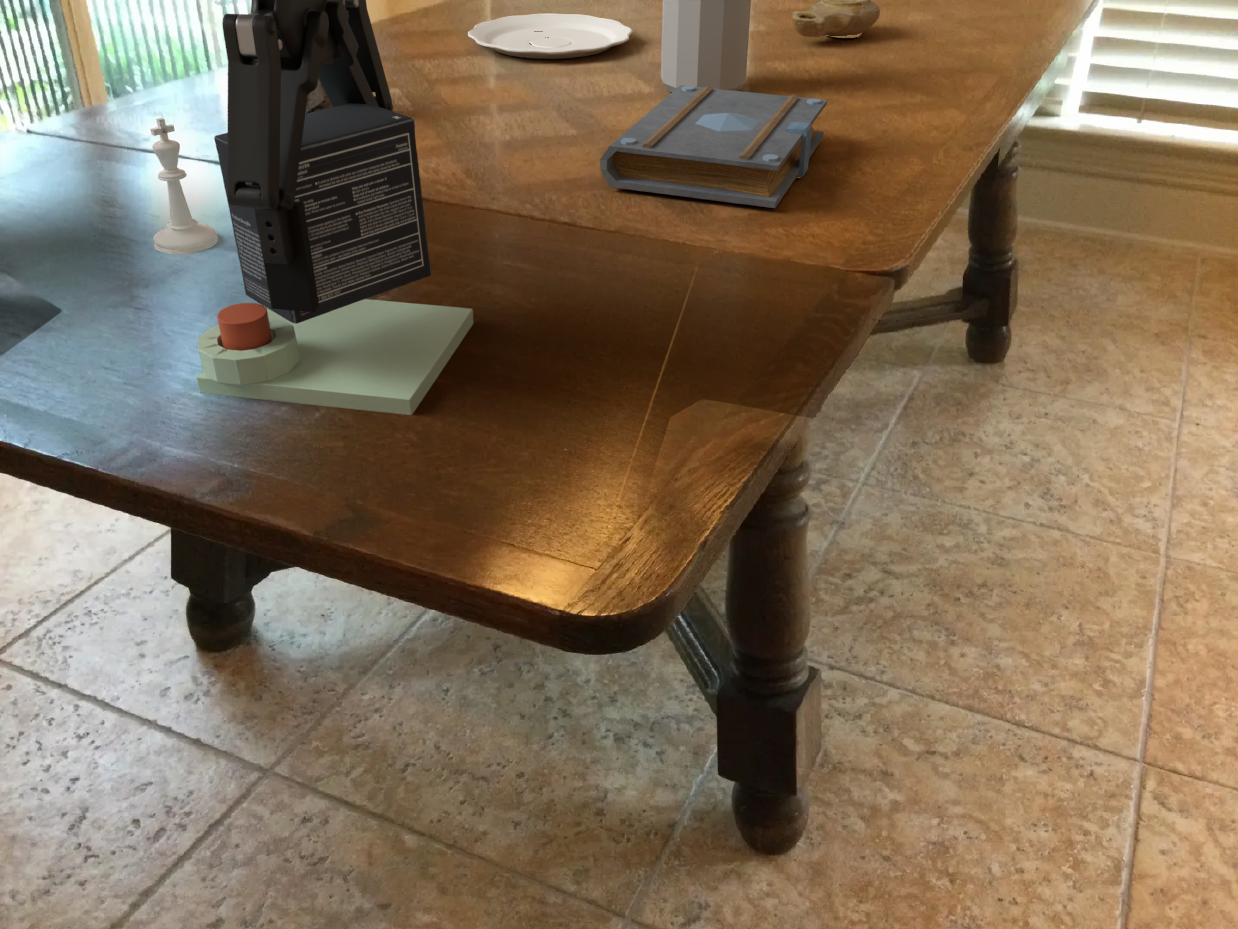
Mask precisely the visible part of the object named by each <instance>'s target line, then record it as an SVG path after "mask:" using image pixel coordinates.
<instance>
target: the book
mask: <svg viewBox="0 0 1238 929" xmlns="http://www.w3.org/2000/svg"><path fill="white" fill-rule="evenodd" d="M827 104H828V100H827V99H822V98H821V99H820V98H816V97H815V98H813V97H812V98H810V97H802V96H801V97H800V96H798V95H796V94H793V95H780V94H769V93H759V92H751V91H740V90H739V91H731V90H721V89H713V88H712V87H710V86H708V87H704V88H701V87H693V86H681V85H680V86H678V87H677V88H676V89H675V90H674V91H673V92H672V93H670V92H669V94H668V95H667V96H666V97H665V98H663V99H662V100H661V101H659V102H658V103H657V104H656V105H655V106H654V107H653V108H651V110H649V111H648V112H647V113H646V114H645V115H643V116H642V117H641V118H640V119H639V120H638V121H636V122H635V123H633V125H632V126H631V127H630V128H628V129H627V130H626V131H625V132H624V133H623V134H621V135H620V136H619V137H618V138H616V139H615V140H614V141H613V142H612V143H610V145H609V146H608V147H607V149H605V151H604V153H603V154H602V156H601V157H600V159H599V171H600V172H601V174H602V176H603V178H604V180H605V181H606V184H607V186H608V187H609V188H614V189H622V190H630V191H638V192H646V193H652V194H653V193H654V194H663V195H670V196H677V197H678V196H679V197H685V198H693V199H700V200H708V201H717V202H724V203H730V204H738V205H748V206H756V207H764V208H771V209H776V208H777V206H778V205H779V203H780V202H781V200H782V199H783V197H784V196H785V194H787V192H788V190H789V189H790V187H791V186H792V185H793V183H794V182H795V180H796V179H797V178H796V177H802V178H803V177H804V176H805V174H806V173H807V171H808V170H809V163H810V158H811V157H812V155H813V153H814V152H815V150H816V149H817V148H818V146H819V145H820V143H821V142H822V141H823V139H824V136H825V135H824V134H825V131H823V130H822V131H821V130H815V129H814V127H813V124H814V122H816V120H817V118H818V117H819V116H820V114H821V113H822V112H823V110H824V109H825V107H826V106H827ZM805 172H806V173H805Z"/></svg>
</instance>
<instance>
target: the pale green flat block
mask: <svg viewBox="0 0 1238 929" xmlns="http://www.w3.org/2000/svg"><path fill="white" fill-rule="evenodd" d="M266 309H267V313H268V318H269V324H270V330H271V335H272V341H271V342H270V343H269V344H266V345H264V346H261V347H259V348H257V349H250V350H243V351H238V350H228V349H225V348H224V347H223V343H222V338H221V333H220V328H219V324H216V325H213V326H211V327H209V328H208V329H207V330H205V331H204V332H203V333H202V334H201V335H200V336H199V337H198V338H197V350H198V354H199V360H200V364H201V368H202V372H200V374H198V375H197V376H196V381H197V385H198V390H199V393H200V394H207V395H216V396H224V397H225V396H227V397H234V398H246V399H255V400H265V401H273V402H284V403H292V404H300V405H302V404H303V405H311V406H321V407H331V408H337V409H338V408H339V409H348V410H350V409H351V410H360V411H367V412H378V413H385V414H386V413H387V414H395V415H396V414H397V415H406V416H413V414H414V413H415V412H416V411H417V408H418V407H419V406H420V404H421V402H423V400H424V398H425V396H426V395H427V393H428V392H429V391H430V389H431V388H432V386H433V385H434V383H435V382H436V380H437V379H438V377H439V376H440V374H441V373H442V372H443V370H444V368H445V367H446V365H447V364H448V362H449V361H450V359H451V358H452V356H453V355H454V353H455V352H456V350H457V349H458V347H459V346H460V344H461V343H462V341H464V338H465V337H466V335H467V334H468V332H469V331H470V330H471V328H472V326H473V325H474V310H473V308H468V307H457V306H447V305H437V304H425V303H424V304H423V303H413V302H412V303H411V302H400V301H390V300H380V299H369V298H367V299H364V300H361V301H358V302H355V303H352V304H350V305H347V306H344V307H342V308H339V309H336V310H333V311H330V312H328V313H325V314H322V315H320V316H317V317H314V318H311V319H308V320H306V321H303V322H300V323H297V324H294V323H292V322H290V321H288V320H286V319H285V318H283V317H282V316H280V315H278V314H277V313H275V312H273V311H271V310H270V309H268V308H266Z"/></svg>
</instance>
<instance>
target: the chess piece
mask: <svg viewBox="0 0 1238 929" xmlns="http://www.w3.org/2000/svg"><path fill="white" fill-rule="evenodd" d="M156 124H157V127H153V128H150V133H151V135H152V136H153V137H155V136H159V139H160V140H158V141H156V142H154V143H153V144H152V146H151V149H152V151H153V153H154V154H155V156H156V157H157V159H158V161H159V163H160V165H161V166H162V168H163V169H162V170H161V171H159V172H158V173H157V179H158V180H159V181H163V182H166V184H167V185H166V186H167V192H168V193H167V194H168V205H169V206H168V207H169V222H167V224H166V227H164V228H162V229H160V230H158V231H157V232H156V233H155V234H154V236H153V238H152V239H153V242H154V243H153V248H154V250H156V251H157V252H159V253H162V254H167V255H168V254H169V255H187V254H195V253H199V252H202V251H205V250H208V249H210V248H212V247H213V246H215V245H216V244H217V243H218V241H219V237H218V236H217V232H216V230H215V229H214V227H212V226H210V225H208V224H205V223H198V220H196V219H195V218H193V216H192V213H191V211H190V208H189V205H188V202H187V199H186V196H185V193H184V190H183V187H182V184H181V180H183V179H185V178H186V177H187V176H188V175H187V172H186V170H184V169H181V168H179V167H178V165H179V156H180V149H181V144H180V142H179V141H176V140H174V139H169V134H168V133H172V132H173V133H174V132H175V125H174V124H166V119H165V118H163V117H158V118H156Z"/></svg>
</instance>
